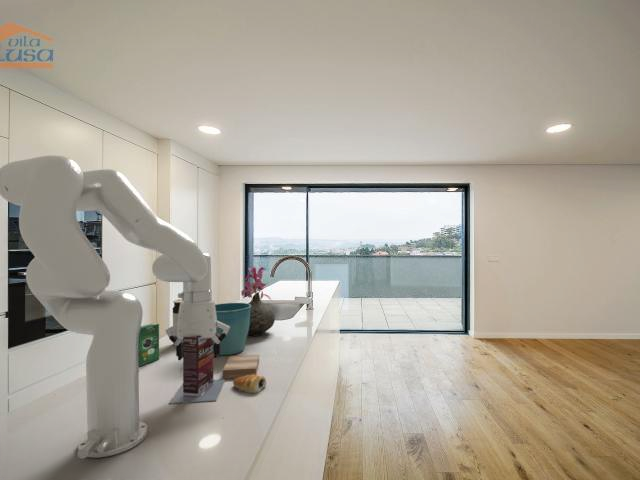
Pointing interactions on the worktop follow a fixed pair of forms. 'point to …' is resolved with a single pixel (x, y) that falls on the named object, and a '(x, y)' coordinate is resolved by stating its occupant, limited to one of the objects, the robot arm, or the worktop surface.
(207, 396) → the gray card
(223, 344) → the flower pot
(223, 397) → the worktop surface
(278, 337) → the worktop surface
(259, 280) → the vase
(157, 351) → the coffee box
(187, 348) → the supplement box
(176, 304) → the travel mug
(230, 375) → the light tan stand
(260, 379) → the pastry
